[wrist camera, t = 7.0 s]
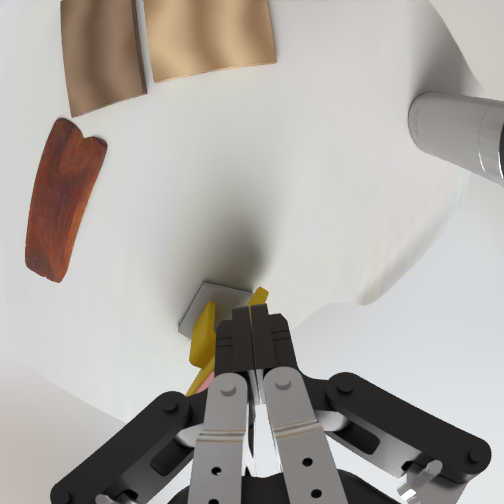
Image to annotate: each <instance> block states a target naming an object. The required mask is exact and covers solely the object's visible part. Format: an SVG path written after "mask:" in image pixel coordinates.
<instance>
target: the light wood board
mask: <svg viewBox="0 0 504 504" xmlns="http://www.w3.org/2000/svg"><path fill="white" fill-rule="evenodd" d="M144 10H145V19H146V27H147V36H148V43H149V51H150V58H151V65H152V72H153V78H154V82H155V83H159V82H163V81H167V80H172V79H176V78H180V77H185V76H190V75H195V74H200V73H205V72H211V71H217V70H223V69H230V68H237V67H245V66H254V65H264V64H275V63H276V62H277V57H276V51H275V44H274V38H273V32H272V26H271V20H270V14H269V8H268V2H267V0H144Z"/></svg>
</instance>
